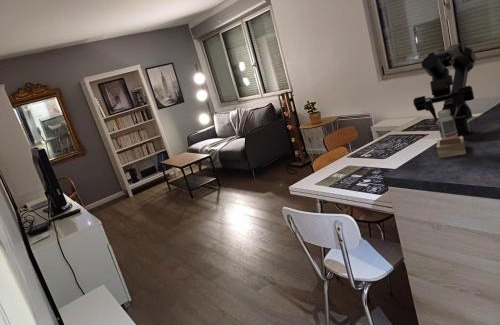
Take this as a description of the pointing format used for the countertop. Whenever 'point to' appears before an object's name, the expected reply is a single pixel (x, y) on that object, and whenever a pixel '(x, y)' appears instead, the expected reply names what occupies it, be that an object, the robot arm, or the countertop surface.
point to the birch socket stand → (451, 147)
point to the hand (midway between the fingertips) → (444, 119)
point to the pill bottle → (446, 124)
